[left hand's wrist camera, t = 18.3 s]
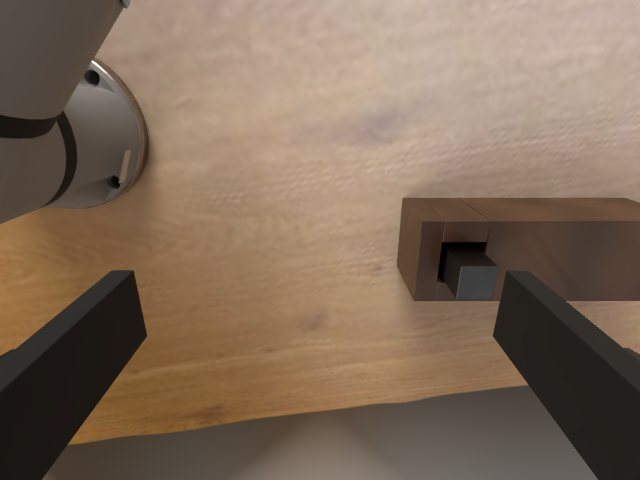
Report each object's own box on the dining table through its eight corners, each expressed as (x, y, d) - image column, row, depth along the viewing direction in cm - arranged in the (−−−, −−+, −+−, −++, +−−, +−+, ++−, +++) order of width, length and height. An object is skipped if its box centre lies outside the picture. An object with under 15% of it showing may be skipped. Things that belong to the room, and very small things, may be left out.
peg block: (396, 265, 42) (413, 301, 34) (402, 198, 39) (422, 221, 32) (604, 265, 42) (665, 301, 34) (625, 197, 39) (697, 221, 32)
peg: (419, 245, 41) (456, 299, 30) (421, 220, 40) (461, 266, 29) (445, 245, 41) (492, 299, 30) (448, 220, 40) (499, 266, 29)
